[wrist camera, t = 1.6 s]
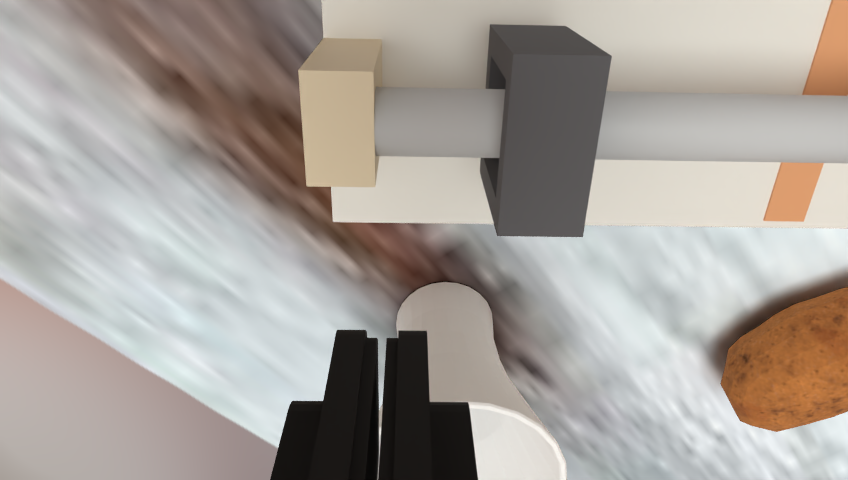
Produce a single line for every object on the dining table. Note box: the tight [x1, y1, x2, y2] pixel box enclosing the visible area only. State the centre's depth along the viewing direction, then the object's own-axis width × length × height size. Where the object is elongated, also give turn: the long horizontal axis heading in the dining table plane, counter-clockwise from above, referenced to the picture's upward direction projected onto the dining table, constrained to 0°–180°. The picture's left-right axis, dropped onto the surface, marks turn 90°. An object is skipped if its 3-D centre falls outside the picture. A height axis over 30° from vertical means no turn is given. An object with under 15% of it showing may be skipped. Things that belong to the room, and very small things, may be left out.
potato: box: [721, 287, 848, 432], centre depth 39 cm, size 7×13×7 cm, turn 118°
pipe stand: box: [298, 0, 848, 229], centre depth 30 cm, size 16×36×9 cm, turn 89°
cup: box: [378, 282, 567, 480], centre depth 35 cm, size 10×10×14 cm
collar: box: [480, 24, 612, 237], centre depth 27 cm, size 7×4×7 cm, turn 179°
